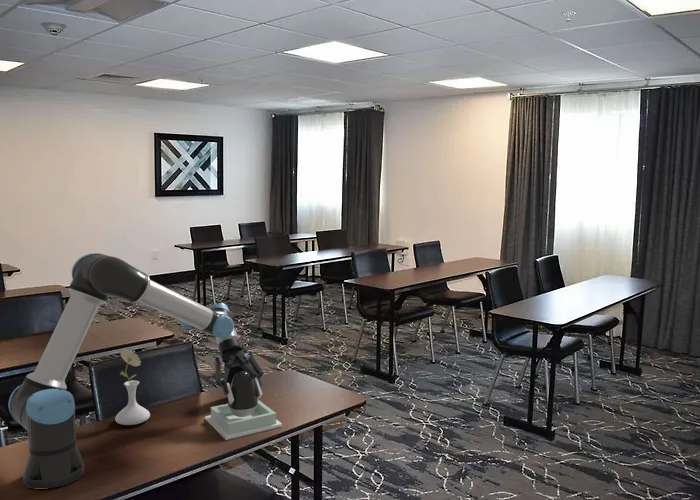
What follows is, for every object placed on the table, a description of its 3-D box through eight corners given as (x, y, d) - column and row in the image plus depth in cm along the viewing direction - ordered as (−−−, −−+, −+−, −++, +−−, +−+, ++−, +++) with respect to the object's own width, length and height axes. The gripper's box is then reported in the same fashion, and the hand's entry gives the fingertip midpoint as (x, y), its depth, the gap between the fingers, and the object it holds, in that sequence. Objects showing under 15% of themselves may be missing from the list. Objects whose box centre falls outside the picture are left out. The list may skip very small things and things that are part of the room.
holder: (225, 440, 186) (225, 426, 186) (205, 419, 203) (205, 406, 202) (282, 426, 197) (282, 413, 196) (258, 407, 214) (258, 395, 213)
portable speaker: (250, 401, 220) (249, 351, 218) (225, 403, 218) (224, 352, 215) (248, 393, 228) (247, 344, 226) (224, 395, 226) (223, 346, 224)
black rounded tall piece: (252, 421, 194) (251, 377, 192) (223, 418, 196) (222, 375, 194) (262, 409, 204) (262, 367, 202) (235, 407, 206) (234, 365, 204)
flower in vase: (156, 421, 200) (153, 351, 198) (123, 431, 192) (120, 357, 190) (139, 411, 210) (137, 343, 207) (107, 420, 202) (104, 349, 199)
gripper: (254, 343, 216) (273, 398, 205) (195, 352, 204) (212, 410, 193) (260, 333, 211) (279, 387, 200) (200, 341, 199) (217, 400, 188)
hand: (246, 399), depth 196 cm, fingers closed on black rounded tall piece, 9 cm apart
